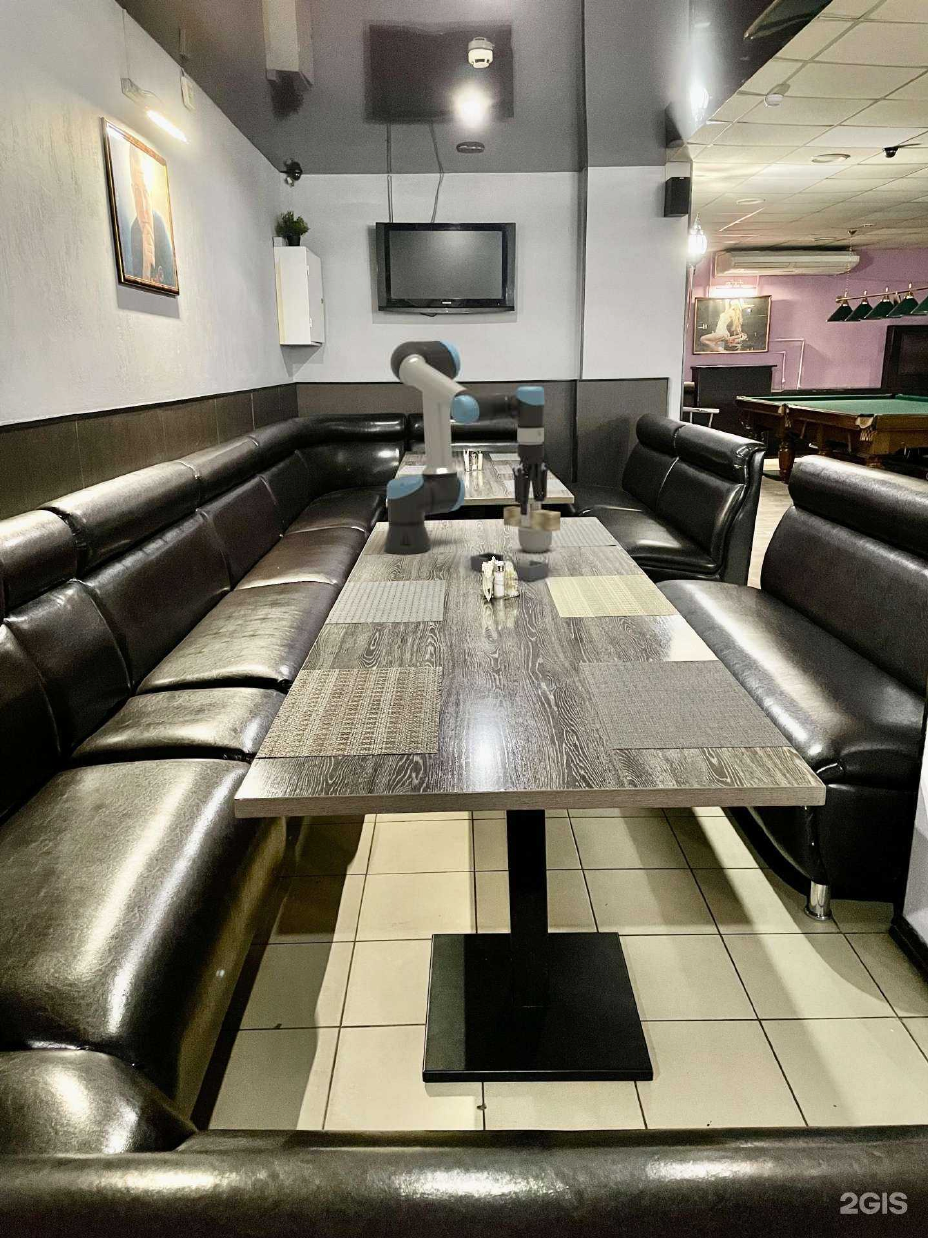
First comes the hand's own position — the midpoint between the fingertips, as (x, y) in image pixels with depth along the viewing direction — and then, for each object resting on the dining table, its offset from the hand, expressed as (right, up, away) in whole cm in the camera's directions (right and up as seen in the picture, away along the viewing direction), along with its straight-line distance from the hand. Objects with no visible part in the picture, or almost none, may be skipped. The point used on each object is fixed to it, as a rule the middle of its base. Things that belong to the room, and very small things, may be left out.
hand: (531, 524), depth 253 cm
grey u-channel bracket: (-13, -13, +2) cm, 18 cm away
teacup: (+3, -5, +27) cm, 27 cm away
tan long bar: (0, -1, 0) cm, 1 cm away
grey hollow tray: (-1, -16, -9) cm, 18 cm away
